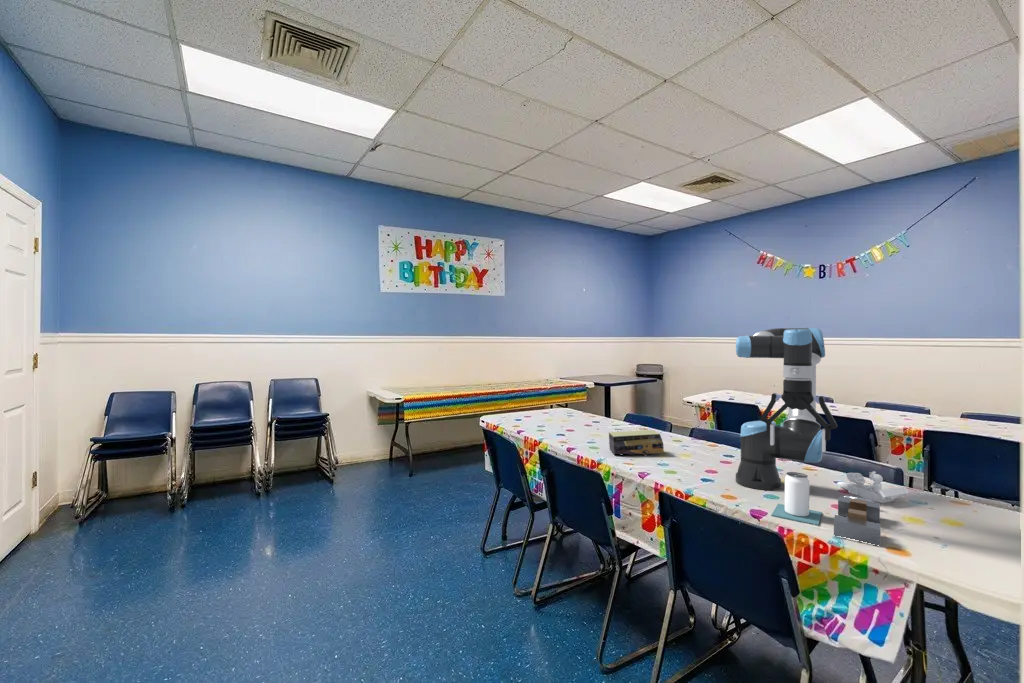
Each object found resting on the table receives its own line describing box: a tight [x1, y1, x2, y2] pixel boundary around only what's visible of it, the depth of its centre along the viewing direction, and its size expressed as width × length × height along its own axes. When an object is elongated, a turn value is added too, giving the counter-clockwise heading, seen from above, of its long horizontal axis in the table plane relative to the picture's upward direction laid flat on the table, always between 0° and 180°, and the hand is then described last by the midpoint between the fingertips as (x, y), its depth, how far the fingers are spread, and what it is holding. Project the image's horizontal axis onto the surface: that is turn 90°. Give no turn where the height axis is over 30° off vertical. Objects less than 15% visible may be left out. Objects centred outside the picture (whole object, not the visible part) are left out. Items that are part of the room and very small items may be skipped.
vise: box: [833, 495, 882, 547], centre depth 135 cm, size 32×10×6 cm, turn 142°
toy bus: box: [608, 429, 665, 456], centre depth 217 cm, size 10×23×10 cm, turn 91°
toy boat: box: [837, 470, 909, 504], centre depth 159 cm, size 11×20×9 cm, turn 17°
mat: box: [771, 503, 823, 526], centre depth 141 cm, size 12×12×1 cm
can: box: [784, 471, 810, 517], centre depth 141 cm, size 6×6×12 cm
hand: (797, 447), depth 141 cm, fingers open, 13 cm apart
